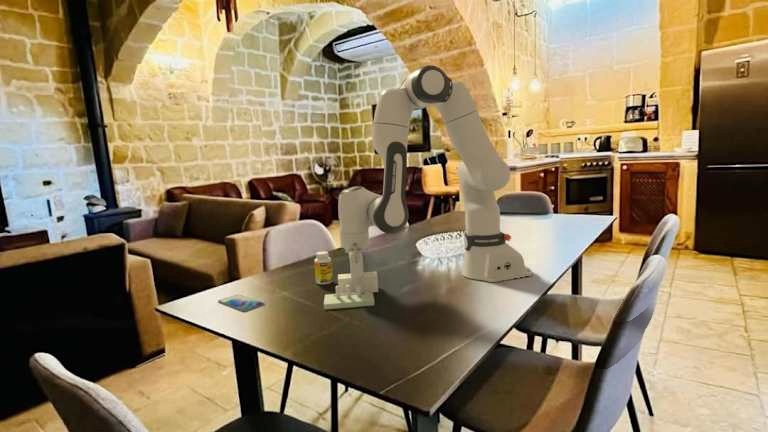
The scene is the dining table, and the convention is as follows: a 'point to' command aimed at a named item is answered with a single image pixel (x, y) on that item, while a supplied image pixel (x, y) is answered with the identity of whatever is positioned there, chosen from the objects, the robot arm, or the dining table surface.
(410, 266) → the dining table surface
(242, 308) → the smartphone
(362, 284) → the block
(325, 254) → the supplement bottle
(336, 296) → the board
